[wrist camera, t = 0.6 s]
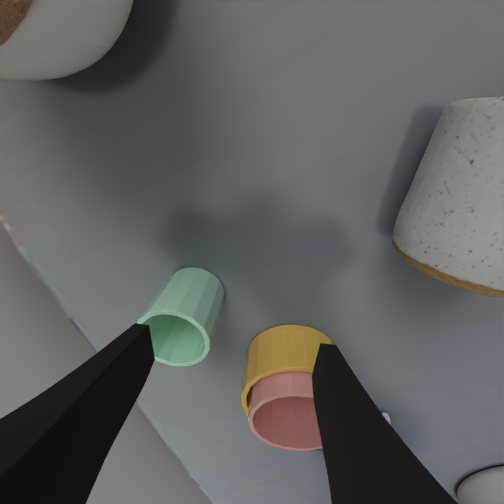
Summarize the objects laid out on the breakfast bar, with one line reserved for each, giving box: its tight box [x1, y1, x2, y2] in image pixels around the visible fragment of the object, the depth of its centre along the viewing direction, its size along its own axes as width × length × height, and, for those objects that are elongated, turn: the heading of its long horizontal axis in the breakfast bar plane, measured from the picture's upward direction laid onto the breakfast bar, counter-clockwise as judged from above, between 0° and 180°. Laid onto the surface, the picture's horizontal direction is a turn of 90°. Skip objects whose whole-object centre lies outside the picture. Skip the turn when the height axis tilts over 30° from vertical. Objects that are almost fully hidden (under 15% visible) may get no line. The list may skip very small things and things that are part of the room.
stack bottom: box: [241, 324, 335, 416], centre depth 22 cm, size 9×9×4 cm
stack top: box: [248, 371, 323, 451], centre depth 21 cm, size 8×8×6 cm
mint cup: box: [137, 267, 225, 367], centre depth 18 cm, size 5×5×6 cm
